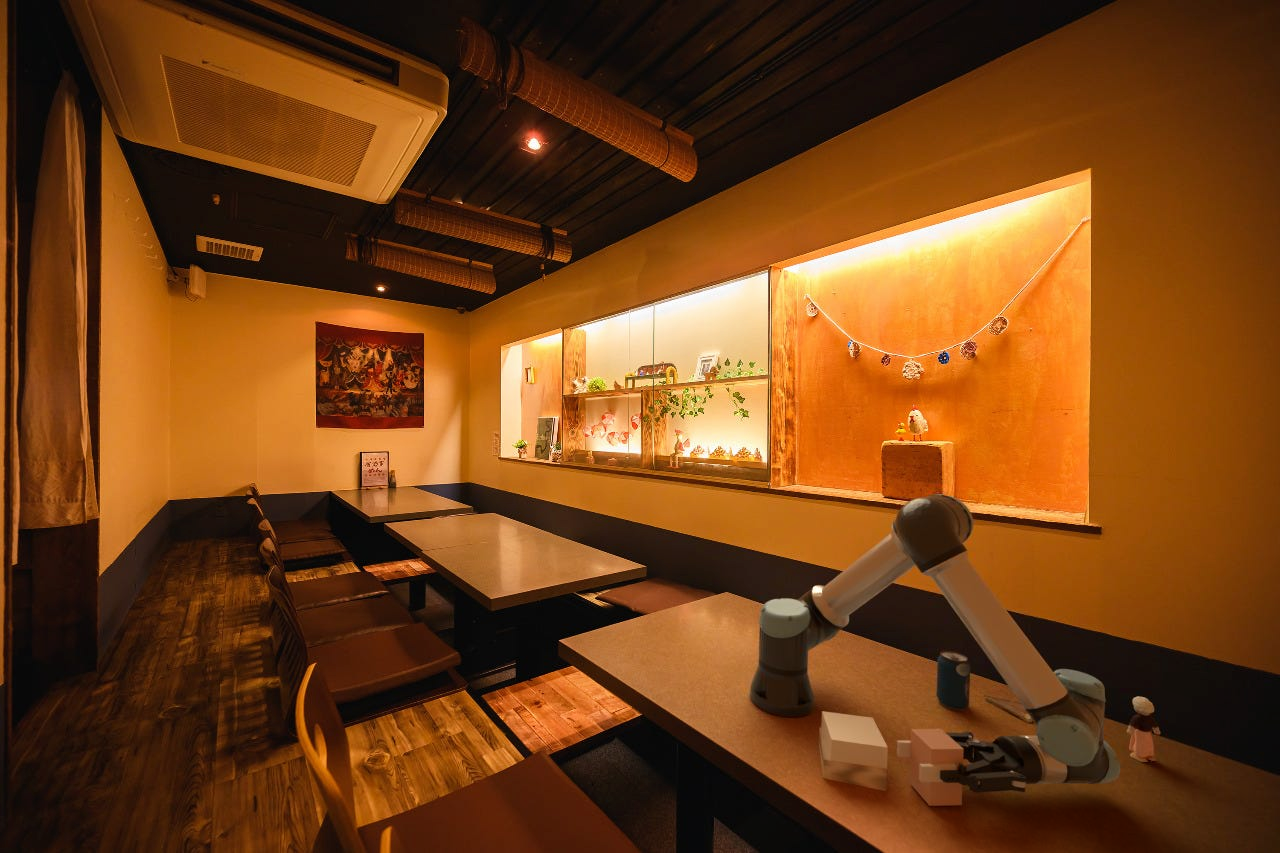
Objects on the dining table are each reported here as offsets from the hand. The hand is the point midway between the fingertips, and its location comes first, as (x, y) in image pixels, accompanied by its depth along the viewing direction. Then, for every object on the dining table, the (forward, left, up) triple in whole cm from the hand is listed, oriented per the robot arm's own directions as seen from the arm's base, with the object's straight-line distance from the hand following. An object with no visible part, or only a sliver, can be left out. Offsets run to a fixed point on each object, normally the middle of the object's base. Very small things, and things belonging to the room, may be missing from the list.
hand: (909, 760), depth 92 cm
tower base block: (-9, +6, -7) cm, 13 cm away
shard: (+33, +41, -7) cm, 53 cm away
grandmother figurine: (+51, +29, -7) cm, 59 cm away
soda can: (+19, +40, -7) cm, 44 cm away
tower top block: (-9, +6, -3) cm, 11 cm away
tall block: (+5, +2, -6) cm, 8 cm away
